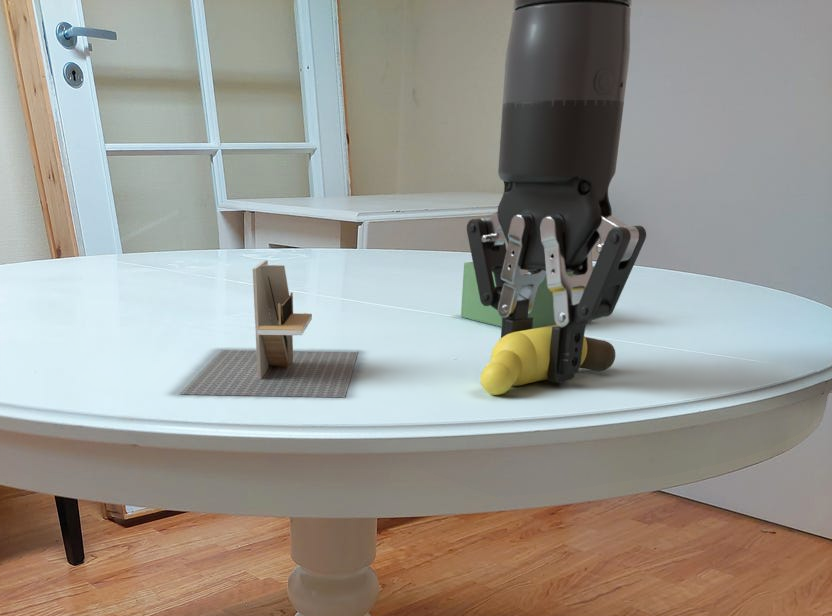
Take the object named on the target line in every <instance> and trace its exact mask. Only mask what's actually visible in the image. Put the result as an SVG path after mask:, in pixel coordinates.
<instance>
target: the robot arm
mask: <svg viewBox="0 0 832 616" xmlns="http://www.w3.org/2000/svg"><path fill="white" fill-rule="evenodd" d="M632 3H633V0H513V4H512V5H513V7H512V10H513V12H512V17H511V25H510V31H509V35H508V36H509V37H508V41H507V47H506V48H507V49H506V54H505V64H504V78H503V95H502V108H501V121H500V122H501V124H500V139H499V154H498V155H499V157H498V171H497V173H498V177H499V179H500V180H501V181H503V184H504V185H503V187H504V189H503V193H502V197H501V198H500V201H499V204H498V206H497V211H495V212H494V213H492V214H490V215H488V216H486V217H479V218H472V219H469V220H468V222H467V224H466V234H467V240H468V244H469V249H470V255H471V259H472V262H473V265H474V270H475V275H476V281H477V286H478V291H479V296H480V301H481V303H482V304H483V305H484V306H492V307H493V308H495V309H496V310H498V313H499V315H500V316H501V317H502V327H500V328H501V329H500V330H501V331H500V339H501V338H502V337H504V336H505V335H507V334H510V333H513V332H518V331H524V330H530V329H532V327H533V317H528V314H529V313H530V312H531V311H532V308H533V304H534V300H535V296H536V293H537V289H538V286H539V284H540V283H542V282H543V280H544V278H545V275H546V278H547V287H548V289H549V291H551V292H552V295H553V307H554V320H555V323H556V325H557V326H555V327H552V334H551V344H550V361H549V366H548V375H547V377H548V379H547V381H549V382H553V383H557V384H559V383H564V382H567V381H571V380H572V379H573V378H574V376H575V375H576V373H578V372H579V370H580V369H581V368H580V366H581V356H582V349H583V340H584V336H585V331H586V327H587V325H589V324H590V323H589V322H590V321H592V322H593V321H594V320H598V319H601V318H606V317H609V316H612V314H613V312H614V310H615V308H616V306H617V303H618V302H619V300H620V298H621V295H622V293H623V290H624V288H625V286H626V284H627V281H628V279H629V278H630V274H631V273H632V270H633V268H634V266H635V263H636V262H637V259H638V256H639V255H640V253H641V250H642V248H643V245H644V244H645V241H646V239H647V231H646V229H645V228H644V226H642V225H628V224H625V222H623V221H621V220H619V219H617V218H615V217H613V210H612V209H613V208H612V205H611V202H610V198H609V188H610V184H611V182H612V180H613V178H614V176H615V175H616V169H617V163H618V153H619V146H620V140H621V139H620V138H621V137H620V136H621V128H622V122H623V113H624V105H625V95H626V87H627V80H628V72H629V63H630V53H631V14H632V13H631V12H632V8H631V7H632ZM506 242H507V245H506ZM598 242H599V243H598ZM597 243H598V244H597ZM596 244H597V245H596ZM595 246H596V247H595ZM594 247H595V251H596V252H597V253H599V254H598V257H597V259H596V262H595V263H594V265H593V252H592V251H593V248H594ZM593 266H594V269H593ZM568 271H573V274H572V276H569V275H567V273H566V272H568ZM492 272H493V273H494V277H495V282H496V287H495V285H494V279H493V274H492Z"/></svg>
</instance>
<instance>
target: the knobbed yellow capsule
mask: <svg viewBox="0 0 832 616" xmlns="http://www.w3.org/2000/svg"><path fill="white" fill-rule="evenodd" d="M555 326H557V325H552V326H547V327H541V328H535V329H530V330H524V331H518V332H513V333H510V334H507V335H505V336H504V337H502V338H501V337H500V338H499V340H498V341H497V342H496V343H495V344H494V346H493V348H492V351H491V355H490V361H489V362H488V363H487V364H486V365H485V366H484V368H483V369H482V372H481V374H480V384H481V387H482V389H483V390H484V391H485V392H487V393H488V394H490V395H492V396H493V395H494V396H499V395H502V394H503V395H504V394H505V393H507V392H508V391H509V390H510V389H511V388H512V386H513V387H515V386H516V387H517V386H524V385H528V384H532V383H536V382H540V381H545V380H548V377H547V375H548V366H549V361H550V344H551V334H552V327H555ZM615 349H616V348H615V347H614V345H612V343H610V342H609V341H607V340H604V339H597V338H594V337H588V336H585V335H584V340H583V349H582V356H581V366H580V368H579V369H583V370H588V371H595V372H603V371H607V370H608V369H610V368H611V367H612V365H613V364H614V363H615V360H616V350H615Z"/></svg>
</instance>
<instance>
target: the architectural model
mask: <svg viewBox="0 0 832 616" xmlns="http://www.w3.org/2000/svg"><path fill="white" fill-rule="evenodd" d="M287 279H288V278H287V272H286V268H285V265H284V264H269V261H268V259H264V260H262V261H261V262H260V263H259V264H256V266H254V267H253V268H252V285H253V286H252V287H253V307H254V308H253V309H254V324H255V327H254V329H255V347H256V348H255V349H256V350H255V349H254V350H252V349H251V350H250V349H249V350H248V349H247V350H245V349H243V350H242V349H221V350H220V351H219V352H218V353H217V355H215V356H214V358H212V360H211V361H210V362H209V363H208V364H206V366H205V367H204V368H203V369H202V370H201V371H200V372H199V373H198V374H197V375H196V376H195V377H194V378H193V379H192V380H191V382H189V384H188V385H186V387H185V388H183V389H182V391H181V392H180V393H179V395H201V396H202V395H206V396H207V395H208V396H209V395H210V396H254V397H255V396H256V397H257V396H260V397H261V396H263V397H311V398H312V397H313V398H346V394H347V391H348V387H349V385H350V380H351V377H352V373H353V370H354V366H355V363H356V359H357V356H358V351H319V350H318V351H315V350H314V351H312V350H311V351H309V350H307V351H306V350H305V351H304V350H294V346H293V345H294V339H293V337H294V336H303V335H304V333H305V331H306V329H307V328H308V326H309V325H310V323H311V322H312V320H313V314H312V313H294V294H293V292H290V291H289V284H288V280H287Z"/></svg>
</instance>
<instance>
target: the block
mask: <svg viewBox="0 0 832 616" xmlns="http://www.w3.org/2000/svg"><path fill="white" fill-rule="evenodd" d="M594 266H595V265H593V269H594ZM566 273H567V275H569V276H572V274H573V271H568V272H566ZM492 274H493V279H494V285H495V287H496V282H495V277H494V273H493V272H492ZM461 292H462V293H461V308H460V309H461V311H460V317H461V318H464V319H468V320H471V321H476V322H480V323H483V324H488V325H492V326H496V327H500V328H502V317H501V316H500V315H499V313H498V310H496V309H495V308H493V307H492V306H484V305H483V304H482V303H481V301H480V296H479V291H478V286H477V281H476V275H475V270H474V265H473V261H468V262H464V263H463V275H462V290H461ZM528 317H533V327H532V329H535V328H541V327H547V326H552V325H556V323H555V320H554V307H553V295H552V292H551V291H549V289H548V287H547V278H546V275H545V278H544V280H543V282H542V283H540V284H539V286H538V289H537V293H536V296H535V300H534V304H533V308H532V311H531V312H530V313H529V314H528ZM591 323H593V320H592V321H590V322H589V323H588V324H591Z"/></svg>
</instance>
